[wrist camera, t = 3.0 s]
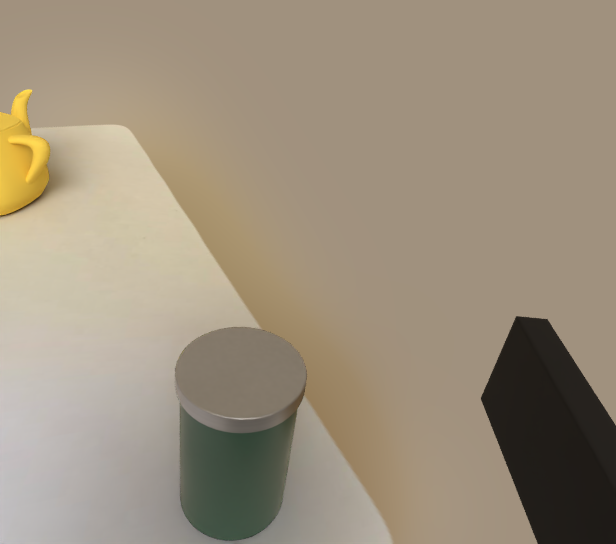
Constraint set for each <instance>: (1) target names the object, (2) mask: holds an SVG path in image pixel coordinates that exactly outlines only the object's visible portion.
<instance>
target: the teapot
mask: <svg viewBox="0 0 616 544" xmlns="http://www.w3.org/2000/svg"><path fill="white" fill-rule="evenodd" d="M31 93H32V90H25V91H22V92H20V93H19V94H18V95H17V96H16V97H15V99H14V102H13V105H12V111H11V115H9V114H5V113H2V112H0V215H5V214H9V213H11V212H14V211H16V210H18V209H20V208H22V207H24V206H26V205H27V204H29V203H31V202H32V201H33V200H35V199H36V198H37V197H39V196H40V195H41V194H42V192H43V191H44V189H45V187H46V185H47V183H48V181H49V172H48V168H47V162H48V160H49V156H50V146H49V143H48V142H47V141H46V140H45V139H43V138H41V137H38V136H32V133H31V128H30V125H29V120H28V115H27V103H28V100H29V97H30V95H31Z"/></svg>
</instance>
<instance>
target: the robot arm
mask: <svg viewBox="0 0 616 544" xmlns="http://www.w3.org/2000/svg"><path fill="white" fill-rule="evenodd" d="M481 400H482V403H483V405H484V408H485V410H486V413H487V416H488V418H489V420H490V423H491V426H492V428H493V431H494V433H495V436H496V438H497V441H498V444H499V446H500V449H501V451H502V454H503V456H504V459H505V461H506V464H507V466H508V469H509V472H510V474H511V476H512V479H513V481H514V484H515V486H516V489H517V492H518V494H519V497H520V499H521V502H522V505H523V507H524V510H525V512H526V515H527V517H528V520H529V522H530V525H531V528H532V530H533V533H534V535H535V538H536V540H537V543H538V544H616V425H615V424H614V422H613V421H612V419H611V417H610V416H609V415H608V413H607V411H606V410H605V408H604V407H603V405H602V404H601V402H600V400H599V399H598V397H597V396H596V394H595V393H594V391H593V390H592V388H591V386H590V385H589V383H588V382H587V380H586V379H585V377H584V376H583V374H582V373H581V371H580V369H579V368H578V366H577V365H576V363H575V362H574V360H573V358H572V357H571V356H570V354H569V352H568V351H567V349H566V348H565V346H564V344H563V343H562V341H561V340H560V339H559V337H558V336H557V334H556V332H555V331H554V329H553V328H552V326H551V324H550V323H549V321H548V320H547V319H539V318H529V317H518V316H517V317H516V318H515V321H514V323H513V325H512V327H511V330H510V332H509V334H508V337H507V339H506V341H505V344H504V346H503V348H502V351H501V353H500V355H499V357H498V360H497V363H496V364H495V367H494V369H493V371H492V374H491V376H490V378H489V381H488V383H487V385H486V387H485V390H484V393H483V394H482V397H481Z"/></svg>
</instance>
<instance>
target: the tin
mask: <svg viewBox="0 0 616 544" xmlns="http://www.w3.org/2000/svg"><path fill="white" fill-rule="evenodd" d="M306 379H307V371H306V366H305V363H304V361H303V359H302V357H301V355H300V354H299V352H298V351H297V350H296V349H295V348H294V347H293V346H292V345H291V344H290V343H289V342H287V341H286V340H284V339H283V338H281V337H279V336H277V335H275V334H273V333H270V332H267V331H264V330H260V329H255V328H247V327H232V328H224V329H219V330H215V331H212V332H209V333H207V334H204V335H202V336H200V337H198V338H197V339H195V340H194V341H192V342H191V343H190V344H189V345H188V346H187V347H186V348H185V349H184V350H183V352H182V353H181V355H180V356H179V359H178V361H177V364H176V368H175V388H176V394H177V397H178V400H179V401H180V498H181V505H182V509H183V511H184V514H185V516H186V517H187V519H188V520H189V522H190V523H191V524H192V525H193V526H194V527H195V528H196V529H197V530H199V531H200V532H202V533H203V534H205V535H207V536H209V537H212V538H215V539H220V540H240V539H245V538H248V537H251V536H253V535H255V534H257V533H259V532H261V531H262V530H263V529H265V528H266V527H267V526H268V525H269V524H270V523H271V522H272V521H273V520H274V519H275V517H276V515H277V514H278V512H279V510H280V507H281V504H282V499H283V493H284V487H285V481H286V475H287V469H288V463H289V457H290V451H291V445H292V439H293V433H294V427H295V421H296V415H297V409H298V407H299V405H300V403H301V401H302V399H303V396H304V392H305V386H306Z"/></svg>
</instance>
